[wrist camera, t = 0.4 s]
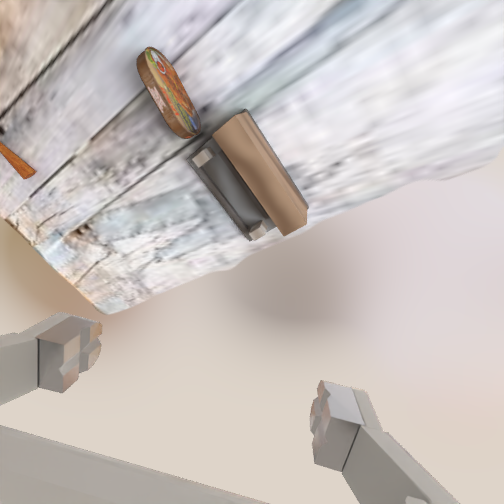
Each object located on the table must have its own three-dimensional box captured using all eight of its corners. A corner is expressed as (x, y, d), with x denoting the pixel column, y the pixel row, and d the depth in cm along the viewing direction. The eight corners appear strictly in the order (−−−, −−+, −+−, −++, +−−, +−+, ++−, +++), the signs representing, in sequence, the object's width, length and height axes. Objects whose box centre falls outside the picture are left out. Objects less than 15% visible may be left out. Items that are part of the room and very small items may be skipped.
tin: (206, 130, 54) (190, 136, 47) (194, 137, 55) (176, 144, 48) (164, 48, 48) (138, 41, 41) (151, 58, 49) (124, 53, 42)
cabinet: (246, 108, 50) (233, 112, 41) (308, 205, 58) (308, 226, 49) (189, 157, 57) (166, 169, 48) (250, 238, 65) (241, 261, 56)
